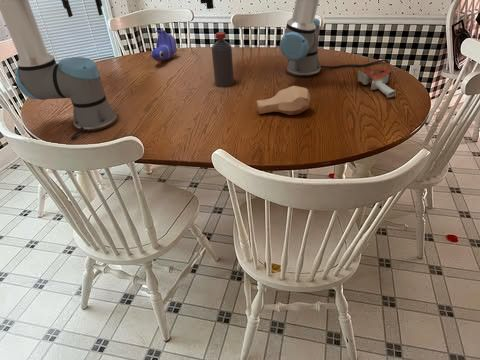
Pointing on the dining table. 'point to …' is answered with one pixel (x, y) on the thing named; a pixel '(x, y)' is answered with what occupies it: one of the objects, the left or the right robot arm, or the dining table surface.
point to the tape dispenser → (377, 80)
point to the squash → (286, 101)
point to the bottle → (222, 63)
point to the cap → (220, 35)
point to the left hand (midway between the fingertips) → (85, 15)
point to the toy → (164, 47)
